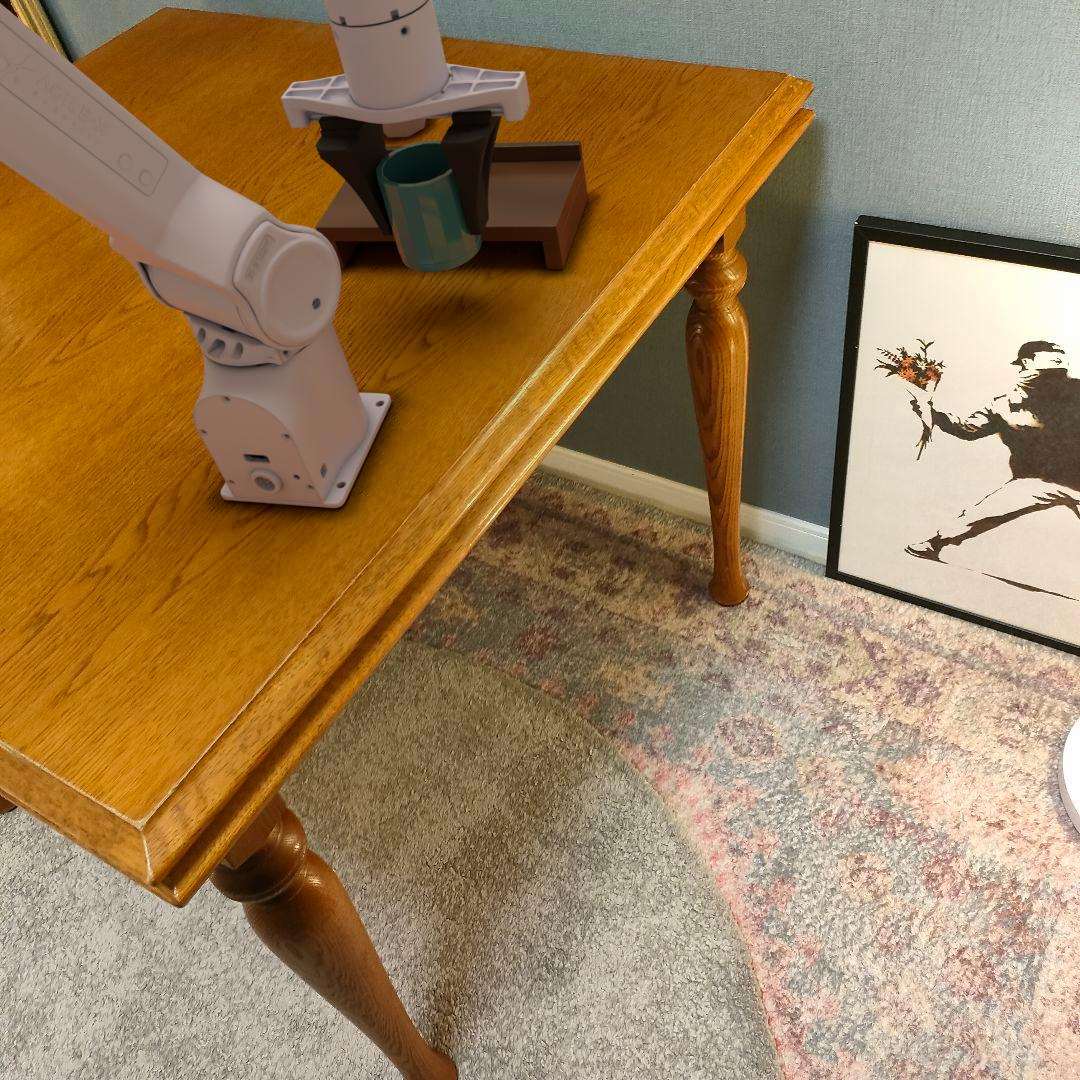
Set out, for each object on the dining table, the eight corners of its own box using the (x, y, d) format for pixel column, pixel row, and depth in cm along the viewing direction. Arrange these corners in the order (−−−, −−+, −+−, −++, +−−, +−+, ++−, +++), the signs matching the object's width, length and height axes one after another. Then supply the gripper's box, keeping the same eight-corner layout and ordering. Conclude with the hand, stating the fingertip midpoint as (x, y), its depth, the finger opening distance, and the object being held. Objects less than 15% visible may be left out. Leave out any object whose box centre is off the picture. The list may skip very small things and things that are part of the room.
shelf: (563, 270, 70) (553, 210, 66) (329, 268, 75) (309, 212, 71) (588, 199, 75) (581, 140, 72) (369, 201, 80) (352, 146, 77)
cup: (469, 273, 63) (448, 186, 59) (390, 272, 64) (363, 187, 60) (491, 224, 66) (473, 139, 62) (415, 225, 68) (392, 141, 63)
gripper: (525, -36, 55) (559, 190, 65) (287, -18, 58) (354, 193, 68) (492, 21, 50) (534, 254, 60) (237, 36, 54) (316, 253, 64)
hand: (436, 226), depth 64 cm, fingers closed on cup, 5 cm apart
